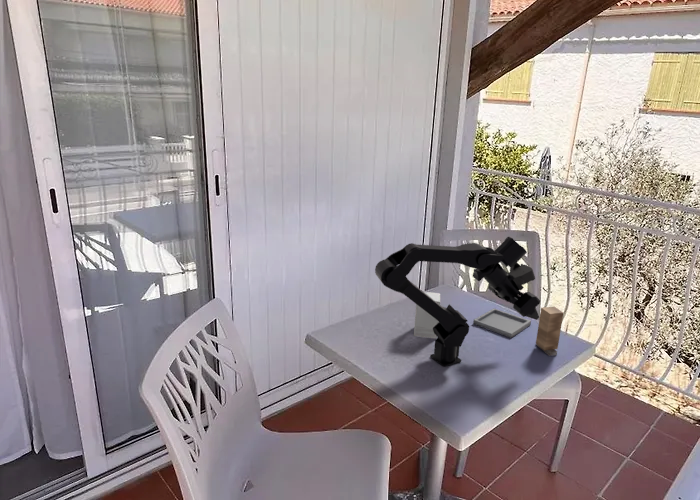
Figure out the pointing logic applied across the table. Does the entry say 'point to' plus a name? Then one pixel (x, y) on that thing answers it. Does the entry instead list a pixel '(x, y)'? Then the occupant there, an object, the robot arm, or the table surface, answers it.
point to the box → (502, 322)
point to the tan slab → (549, 330)
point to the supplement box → (425, 320)
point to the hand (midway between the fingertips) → (528, 311)
